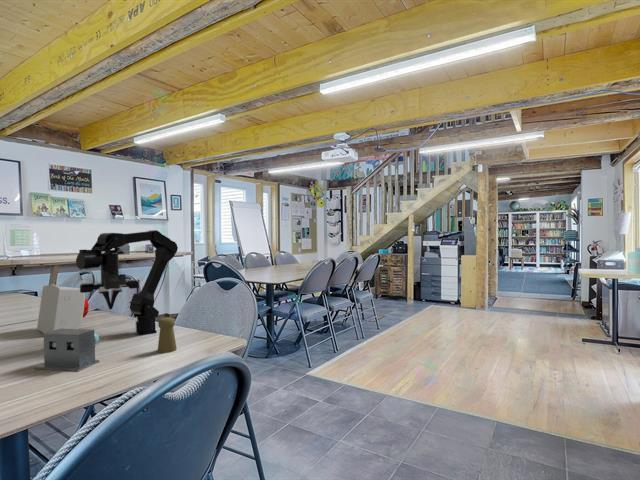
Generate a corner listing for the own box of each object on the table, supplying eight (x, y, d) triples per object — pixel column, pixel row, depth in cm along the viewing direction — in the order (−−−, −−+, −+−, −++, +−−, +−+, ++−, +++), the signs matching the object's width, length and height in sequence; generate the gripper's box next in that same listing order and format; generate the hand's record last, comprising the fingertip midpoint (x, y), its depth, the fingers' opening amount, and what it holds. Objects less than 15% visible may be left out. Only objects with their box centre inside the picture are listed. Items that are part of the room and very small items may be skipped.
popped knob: (87, 344, 120) (86, 331, 119) (99, 345, 119) (98, 331, 119) (66, 352, 112) (66, 337, 112) (79, 352, 111) (79, 338, 111)
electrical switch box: (92, 333, 159) (98, 286, 162) (52, 336, 147) (59, 285, 149) (75, 329, 167) (81, 284, 169) (36, 331, 155) (43, 283, 157)
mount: (57, 359, 118) (56, 328, 118) (99, 361, 116) (98, 329, 116) (34, 368, 110) (33, 335, 110) (78, 371, 108) (77, 336, 108)
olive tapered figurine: (180, 348, 129) (179, 316, 128) (168, 353, 123) (167, 320, 123) (166, 346, 130) (165, 315, 130) (153, 352, 125) (152, 319, 125)
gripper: (80, 270, 126) (81, 316, 126) (141, 266, 137) (142, 309, 137) (79, 268, 135) (80, 311, 135) (136, 264, 146) (137, 304, 146)
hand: (110, 309), depth 138 cm, fingers closed
